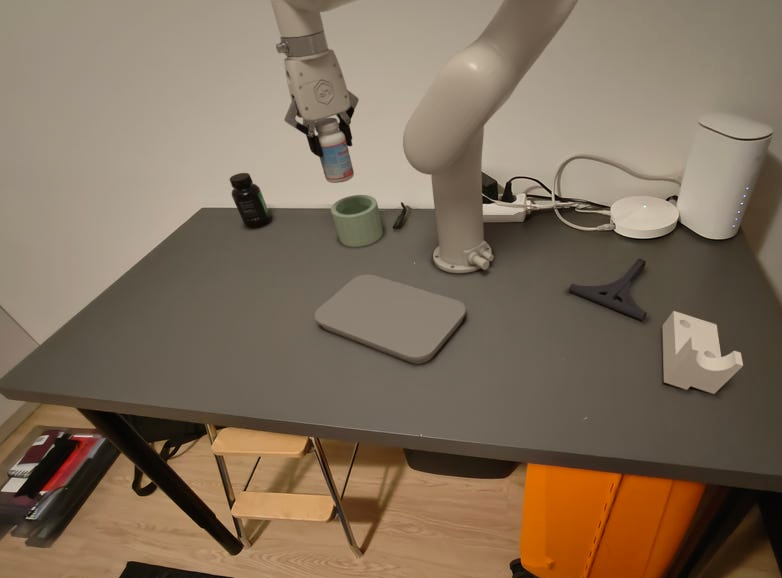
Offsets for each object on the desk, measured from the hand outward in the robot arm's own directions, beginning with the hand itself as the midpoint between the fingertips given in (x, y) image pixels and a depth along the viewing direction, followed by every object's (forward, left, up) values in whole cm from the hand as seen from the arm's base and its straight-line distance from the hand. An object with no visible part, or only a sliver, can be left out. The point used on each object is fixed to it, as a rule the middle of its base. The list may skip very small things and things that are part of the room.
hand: (333, 149), depth 93 cm
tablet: (-31, +10, -21) cm, 39 cm away
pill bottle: (0, 0, -6) cm, 6 cm away
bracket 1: (-54, -28, -21) cm, 64 cm away
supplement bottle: (+27, +14, -21) cm, 37 cm away
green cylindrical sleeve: (+1, -2, -21) cm, 21 cm away
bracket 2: (-73, -20, -21) cm, 79 cm away
